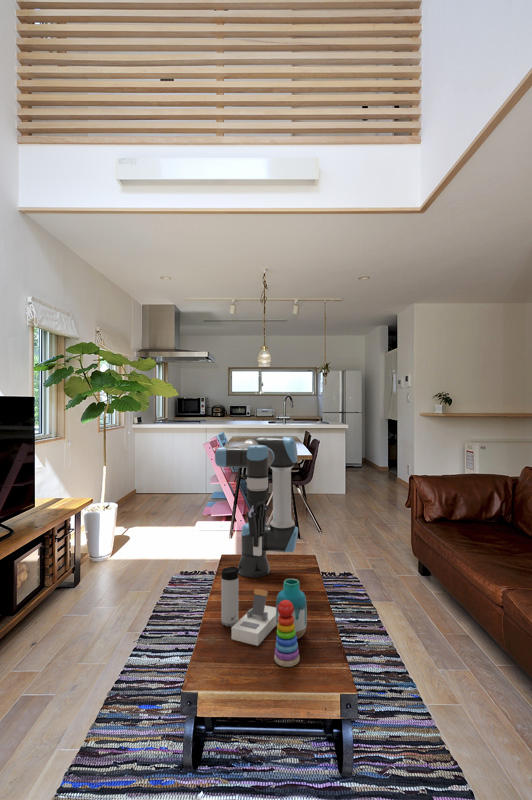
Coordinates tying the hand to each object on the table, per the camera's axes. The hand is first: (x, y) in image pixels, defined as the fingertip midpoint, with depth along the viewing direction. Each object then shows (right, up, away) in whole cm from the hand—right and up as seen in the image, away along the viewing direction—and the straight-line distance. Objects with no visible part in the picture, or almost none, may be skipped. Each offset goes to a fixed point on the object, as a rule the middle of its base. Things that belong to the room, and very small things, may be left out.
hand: (257, 554), depth 162 cm
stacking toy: (+10, -27, -20) cm, 35 cm away
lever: (0, -21, 0) cm, 21 cm away
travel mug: (-10, -27, +5) cm, 29 cm away
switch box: (0, -26, 0) cm, 26 cm away
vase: (+12, -27, -5) cm, 30 cm away
